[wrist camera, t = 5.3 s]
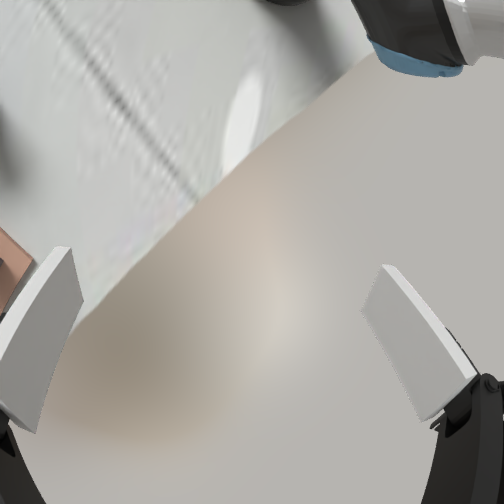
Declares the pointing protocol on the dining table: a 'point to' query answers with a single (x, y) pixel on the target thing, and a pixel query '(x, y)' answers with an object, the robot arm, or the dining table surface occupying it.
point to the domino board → (11, 266)
